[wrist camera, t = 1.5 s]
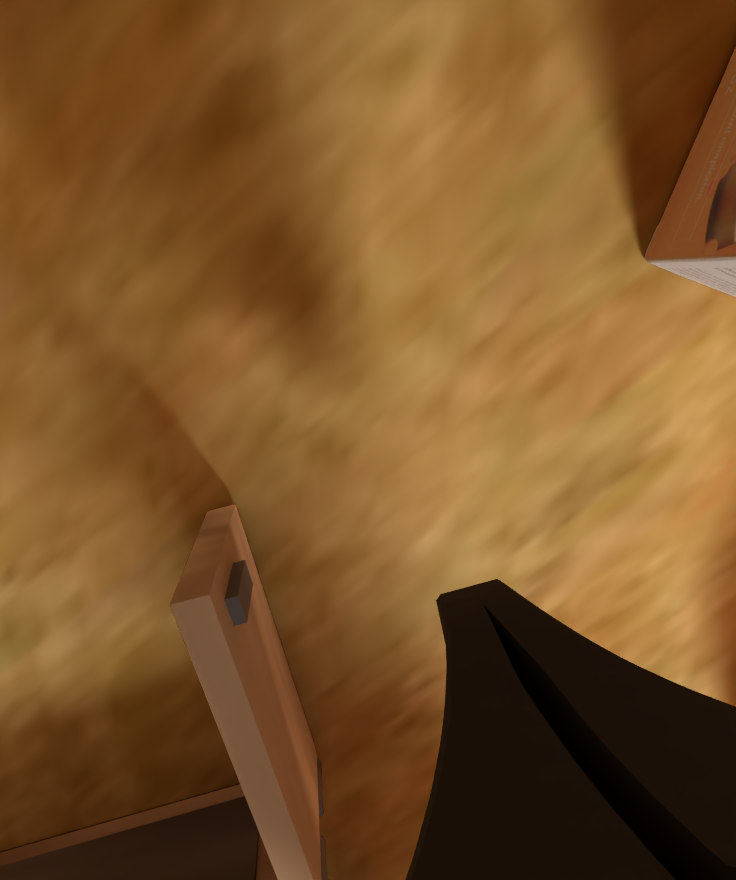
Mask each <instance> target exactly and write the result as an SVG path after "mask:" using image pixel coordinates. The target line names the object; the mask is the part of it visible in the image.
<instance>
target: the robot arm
mask: <svg viewBox="0 0 736 880" xmlns="http://www.w3.org/2000/svg"><path fill="white" fill-rule="evenodd" d="M436 602H437V606H438V611H439V616H440V620H441V625H442V629H443V634H444V639H445V643H446V659H447V674H446V696H445V709H444V719H443V727H442V735H441V742H440V748H439V754H438V759H437V765H436V770H435V775H434V780H433V785H432V790H431V794H430V798H429V802H428V806H427V810H426V813H425V817H424V821H423V824H422V828H421V832H420V835H419V839H418V843H417V846H416V850H415V853H414V856H413V859H412V863H411V865H410V868H409V871H408V874H407V877H406V880H736V707H735V706H732V705H730V704H727V703H724V702H722V701H719V700H716V699H714V698H711V697H708V696H706V695H703V694H701V693H698V692H695V691H693V690H691V689H688V688H686V687H683V686H681V685H679V684H676V683H674V682H671V681H669V680H667V679H665V678H663V677H661V676H658V675H656V674H654V673H652V672H650V671H648V670H646V669H643V668H641V667H639V666H637V665H635V664H633V663H631V662H629V661H627V660H625V659H623V658H621V657H619V656H617V655H615V654H613V653H612V652H610V651H608V650H606V649H604V648H603V647H601V646H599V645H597V644H595V643H594V642H592V641H590V640H589V639H587V638H585V637H584V636H582V635H580V634H579V633H577V632H575V631H574V630H572V629H571V628H569V627H567V626H566V625H564V624H563V623H561V622H560V621H558V620H556V619H555V618H553V617H552V616H550V615H549V614H547V613H546V612H544V611H543V610H541V609H540V608H538V607H537V606H535V605H534V604H533V603H531V602H530V601H528V600H527V599H525V598H524V597H523V596H521V595H520V594H518V593H517V592H516V591H514V590H513V589H511V588H510V587H509V586H507V585H506V584H504V583H503V582H501V581H500V580H498V579H495V580H492V581H488V582H484V583H481V584H477V585H473V586H470V587H466V588H462V589H459V590H455V591H451V592H447V593H444V594H441V595H440V596H439V597H438V599H437V600H436Z"/></svg>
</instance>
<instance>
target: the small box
mask: <svg viewBox="0 0 736 880" xmlns="http://www.w3.org/2000/svg"><path fill="white" fill-rule="evenodd" d="M645 259H646V261H647V262H649V263H650V264H653V265H655V266H658V267H660V268H663V269H665V270H668V271H670V272H673V273H675V274H677V275H680V276H683V277H685V278H688V279H690V280H693V281H695V282H698V283H700V284H703V285H705V286H708V287H711V288H713V289H716V290H718V291H721V292H724V293H726V294H729V295H731V296H734V297H736V47H735V49H734V52H733V54H732V56H731V59H730V61H729V63H728V66H727V68H726V71H725V73H724V75H723V78H722V80H721V83H720V85H719V87H718V89H717V91H716V93H715V96H714V98H713V100H712V103H711V105H710V107H709V109H708V112H707V114H706V117H705V119H704V121H703V124H702V126H701V128H700V131H699V133H698V135H697V137H696V140H695V142H694V144H693V147H692V149H691V151H690V153H689V156H688V158H687V160H686V163H685V165H684V167H683V169H682V172H681V174H680V176H679V179H678V181H677V183H676V186H675V188H674V190H673V193H672V195H671V197H670V200H669V202H668V204H667V207H666V209H665V211H664V214H663V216H662V218H661V221H660V223H659V225H658V226H657V228H656V230H655V232H654V234H653V237H652V239H651V241H650V243H649V246H648V248H647V251H646V254H645Z"/></svg>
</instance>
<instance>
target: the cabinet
mask: <svg viewBox="0 0 736 880" xmlns="http://www.w3.org/2000/svg"><path fill="white" fill-rule="evenodd" d="M0 880H278V879H277V876H276V874H275V871H274V869H273V866H272V864H271V861H270V858H269V856H268V853H267V851H266V848H265V846H264V843H263V841H262V838H261V836H260V833H259V831H258V828H257V825H256V823H255V820H254V818H253V815H252V813H251V810H250V808H249V805H248V803H247V800H246V798H245V795H244V793H243V790H242V787H241V785H240V784H239V785H235V786H232V787H228V788H225V789H221V790H218V791H214V792H211V793H207V794H204V795H200V796H197V797H193V798H190V799H186V800H183V801H179V802H176V803H172V804H169V805H165V806H162V807H158V808H155V809H151V810H148V811H144V812H141V813H137V814H134V815H130V816H127V817H123V818H120V819H116V820H113V821H109V822H106V823H102V824H99V825H95V826H92V827H88V828H85V829H81V830H78V831H74V832H71V833H67V834H64V835H60V836H57V837H53V838H50V839H46V840H43V841H39V842H36V843H32V844H29V845H25V846H22V847H18V848H15V849H11V850H8V851H4V852H1V853H0ZM327 880H328V879H327Z"/></svg>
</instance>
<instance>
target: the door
mask: <svg viewBox="0 0 736 880" xmlns="http://www.w3.org/2000/svg"><path fill="white" fill-rule="evenodd" d="M170 607H171V610H172V612H173V615H174V617H175V620H176V623H177V625H178V628H179V630H180V633H181V635H182V638H183V640H184V643H185V645H186V648H187V650H188V653H189V656H190V658H191V661H192V663H193V666H194V668H195V671H196V673H197V676H198V678H199V681H200V683H201V686H202V689H203V691H204V694H205V696H206V699H207V701H208V704H209V706H210V709H211V711H212V714H213V716H214V719H215V721H216V724H217V727H218V729H219V732H220V734H221V737H222V739H223V742H224V744H225V747H226V749H227V752H228V754H229V757H230V760H231V762H232V765H233V767H234V770H235V772H236V775H237V777H238V780H239V782H240V785H241V787H242V790H243V793H244V795H245V798H246V800H247V803H248V805H249V808H250V810H251V813H252V815H253V818H254V820H255V823H256V825H257V828H258V831H259V833H260V836H261V838H262V841H263V843H264V846H265V848H266V851H267V853H268V856H269V858H270V861H271V864H272V866H273V869H274V871H275V874H276V876H277V879H278V880H327V870H326V849H325V839H324V838H323V836H321V835H320V828H319V818H321V816H322V815H323V812H324V807H323V786H322V765H321V761H320V760H319V759H318V758H317V751H316V748H315V745H314V742H313V739H312V736H311V733H310V730H309V727H308V724H307V721H306V718H305V715H304V712H303V709H302V706H301V703H300V700H299V697H298V694H297V690H296V687H295V684H294V681H293V678H292V675H291V672H290V669H289V666H288V663H287V660H286V657H285V654H284V651H283V648H282V645H281V642H280V639H279V636H278V633H277V630H276V627H275V623H274V620H273V617H272V614H271V611H270V608H269V605H268V602H267V599H266V596H265V593H264V590H263V587H262V584H261V581H260V578H259V575H258V572H257V569H256V566H255V563H254V560H253V556H252V553H251V550H250V547H249V544H248V541H247V538H246V535H245V532H244V529H243V526H242V523H241V520H240V517H239V514H238V511H237V508H236V505H235V504H233V505H229V506H226V507H222V508H218V509H214V510H210V511H207V513H206V516H205V518H204V521H203V523H202V526H201V528H200V531H199V533H198V536H197V538H196V541H195V543H194V546H193V548H192V551H191V553H190V556H189V558H188V561H187V563H186V566H185V568H184V571H183V573H182V576H181V578H180V581H179V583H178V586H177V588H176V591H175V593H174V596H173V598H172V601H171V603H170Z"/></svg>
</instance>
